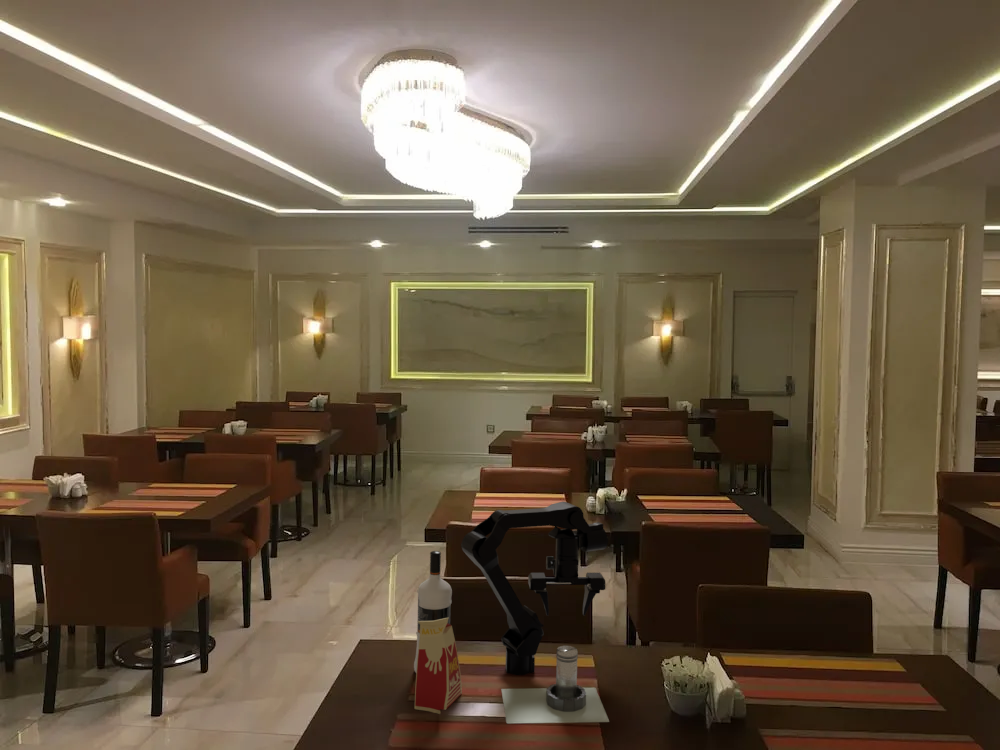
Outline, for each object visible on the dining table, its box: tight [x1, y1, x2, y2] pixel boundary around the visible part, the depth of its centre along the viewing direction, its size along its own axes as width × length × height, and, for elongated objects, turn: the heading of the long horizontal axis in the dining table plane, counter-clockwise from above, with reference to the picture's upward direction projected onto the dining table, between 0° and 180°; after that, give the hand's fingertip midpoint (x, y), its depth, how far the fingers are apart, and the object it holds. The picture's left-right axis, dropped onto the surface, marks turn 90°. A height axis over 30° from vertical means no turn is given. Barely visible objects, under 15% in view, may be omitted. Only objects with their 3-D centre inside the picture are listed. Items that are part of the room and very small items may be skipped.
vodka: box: [413, 550, 453, 673], centre depth 196 cm, size 9×9×30 cm
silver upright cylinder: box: [555, 645, 579, 699], centre depth 180 cm, size 5×5×12 cm
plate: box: [500, 687, 610, 725], centre depth 179 cm, size 22×16×1 cm
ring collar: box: [546, 683, 586, 712], centre depth 180 cm, size 9×9×2 cm
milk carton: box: [414, 617, 463, 715], centre depth 181 cm, size 9×9×20 cm
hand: (565, 614), depth 202 cm, fingers open, 9 cm apart
